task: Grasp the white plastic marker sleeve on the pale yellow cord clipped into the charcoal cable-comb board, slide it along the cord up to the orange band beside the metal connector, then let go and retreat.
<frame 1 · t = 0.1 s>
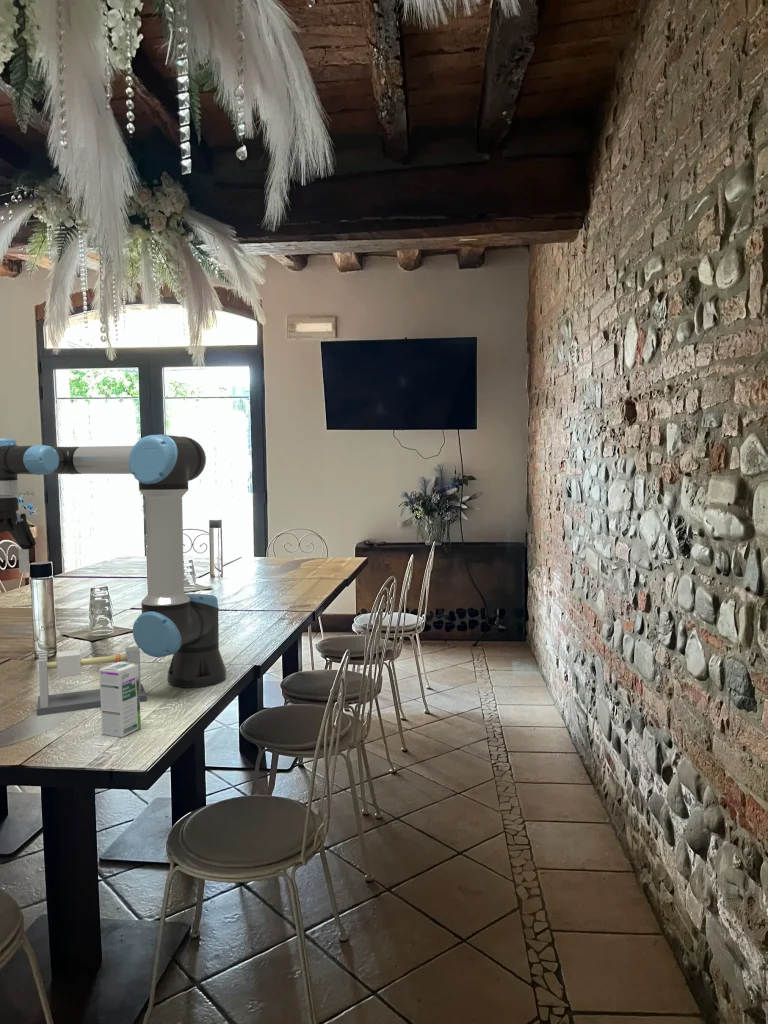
hand: (5, 576, 189), 28 cm above the table, fingers open, 13 cm apart
syrup box: (121, 732, 153), on the table
marker sleeve: (68, 663, 170), point 10 cm above the table, slide at 0.0 cm
cable comb board: (92, 701, 172), on the table
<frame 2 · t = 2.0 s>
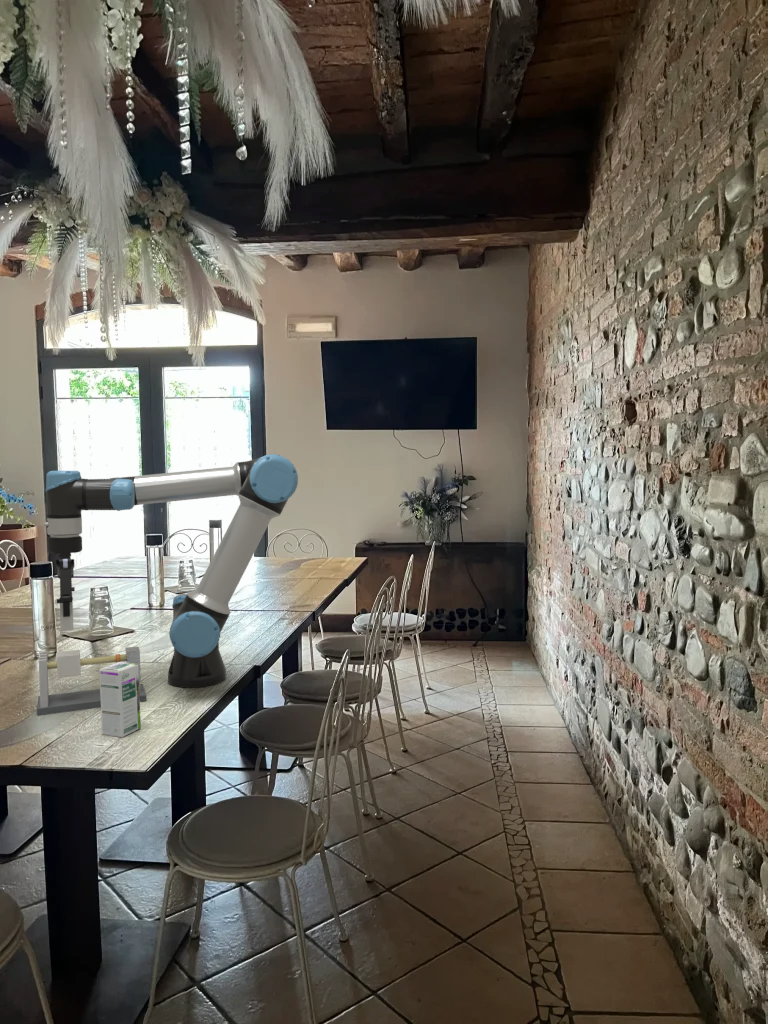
hand: (66, 624, 169), 20 cm above the table, fingers open, 13 cm apart
nothing on the table moved.
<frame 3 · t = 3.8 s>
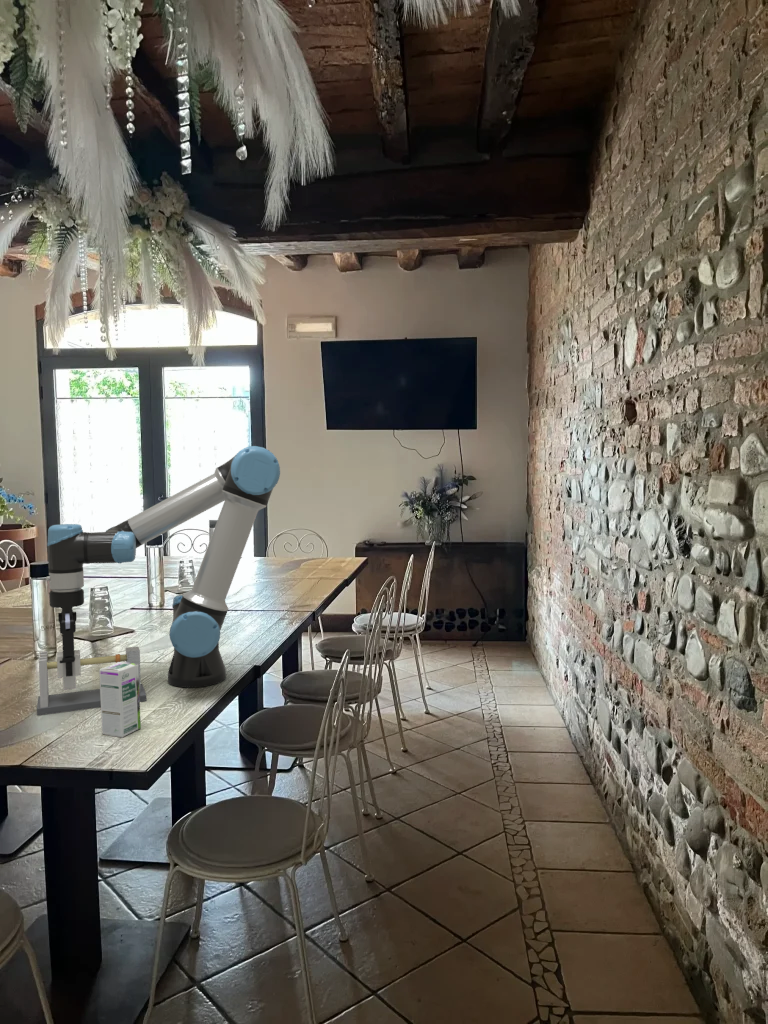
hand: (69, 685, 170), 5 cm above the table, fingers closed on marker sleeve, 5 cm apart
marker sleeve: (68, 663, 170), point 10 cm above the table, slide at 0.0 cm, touching gripper
everything else where it was.
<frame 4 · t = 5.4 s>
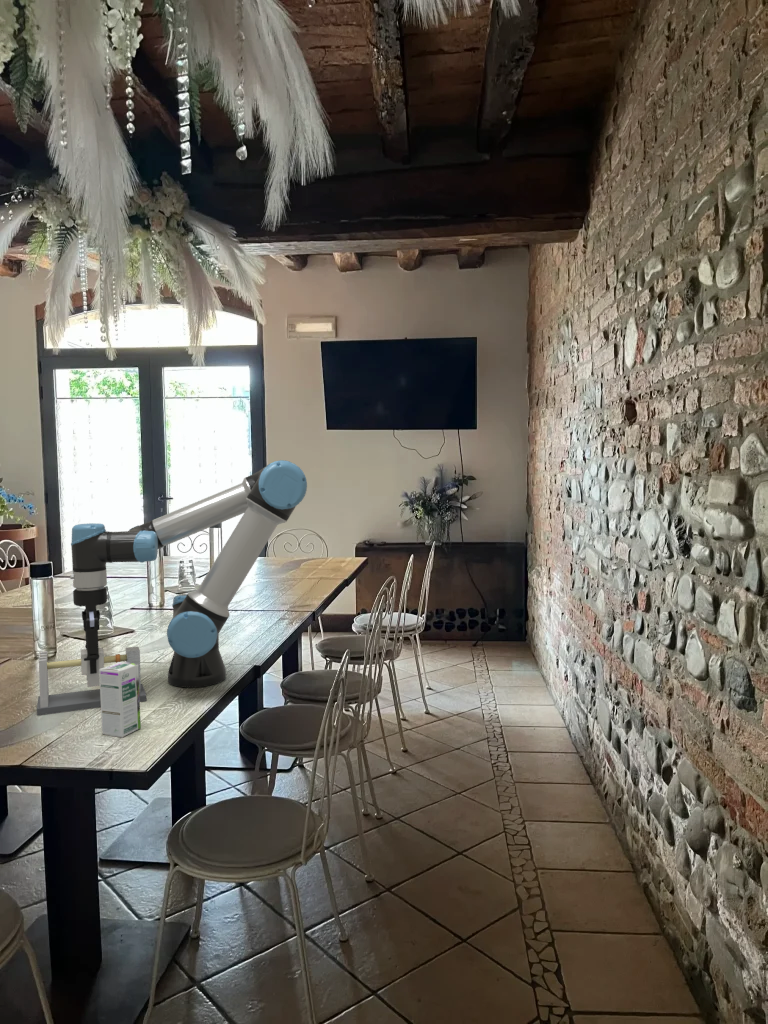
hand: (93, 682, 172), 5 cm above the table, fingers closed on marker sleeve, 5 cm apart
marker sleeve: (92, 661, 172), point 10 cm above the table, slide at 5.2 cm, touching gripper
everything else where it was.
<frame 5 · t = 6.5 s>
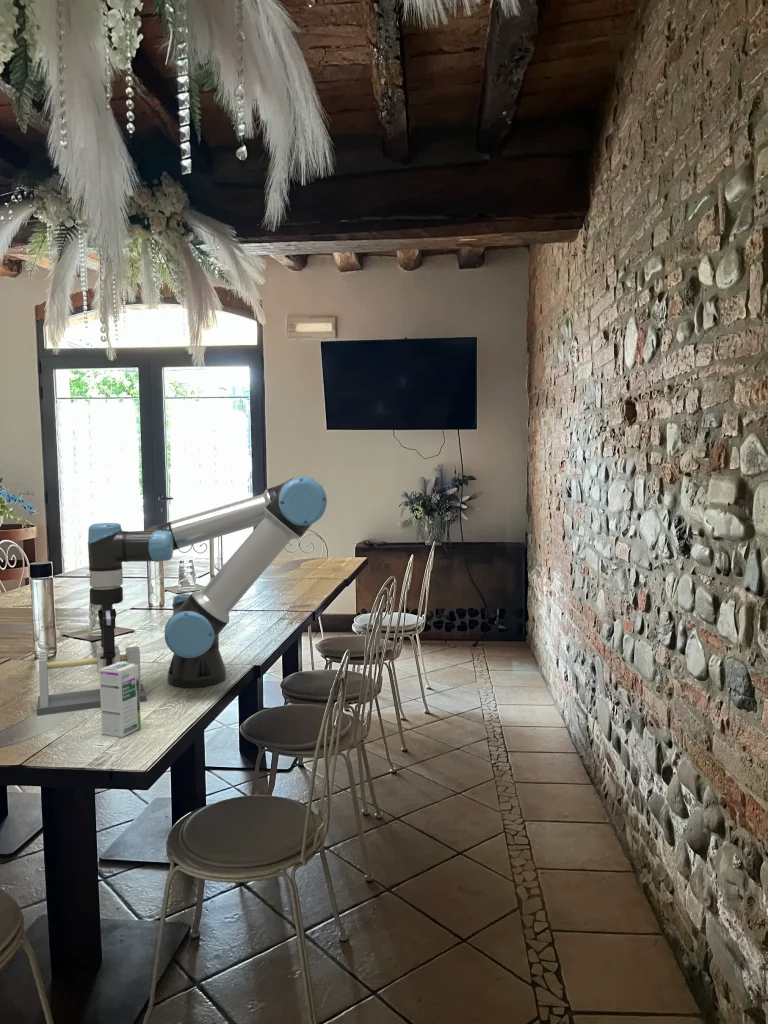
hand: (109, 680, 174), 5 cm above the table, fingers closed on marker sleeve, 5 cm apart
marker sleeve: (108, 659, 173), point 10 cm above the table, slide at 8.8 cm, touching gripper
everything else where it was.
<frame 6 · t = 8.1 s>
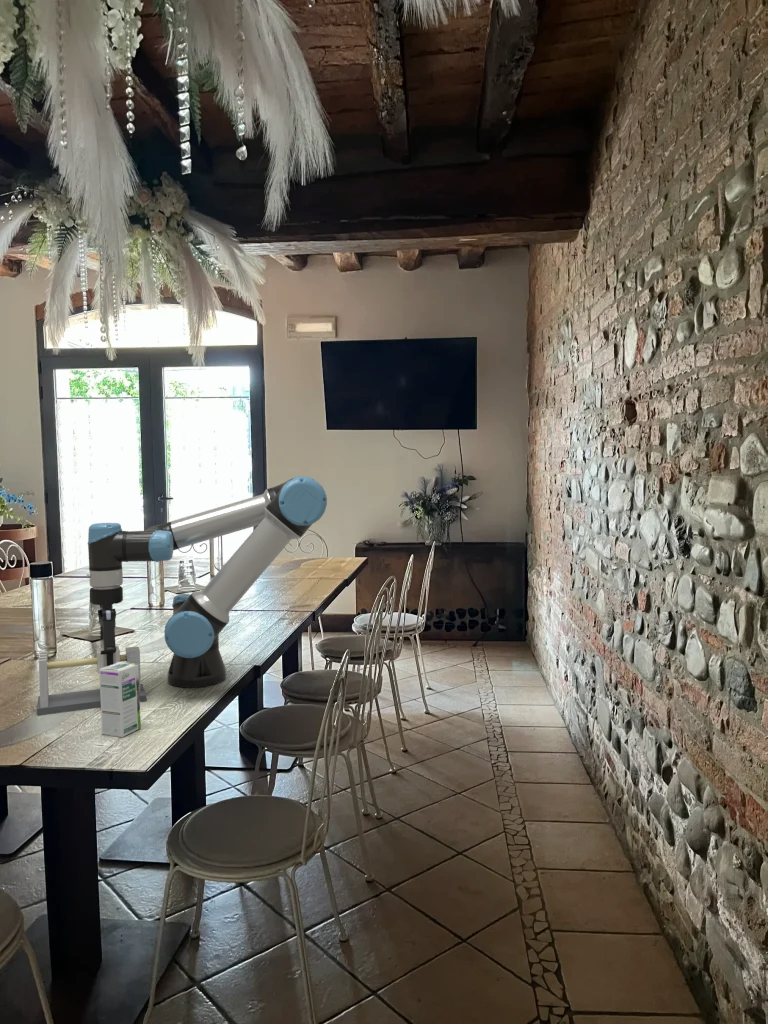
hand: (108, 672, 174), 7 cm above the table, fingers open, 13 cm apart
marker sleeve: (108, 659, 173), point 10 cm above the table, slide at 8.8 cm
everything else where it was.
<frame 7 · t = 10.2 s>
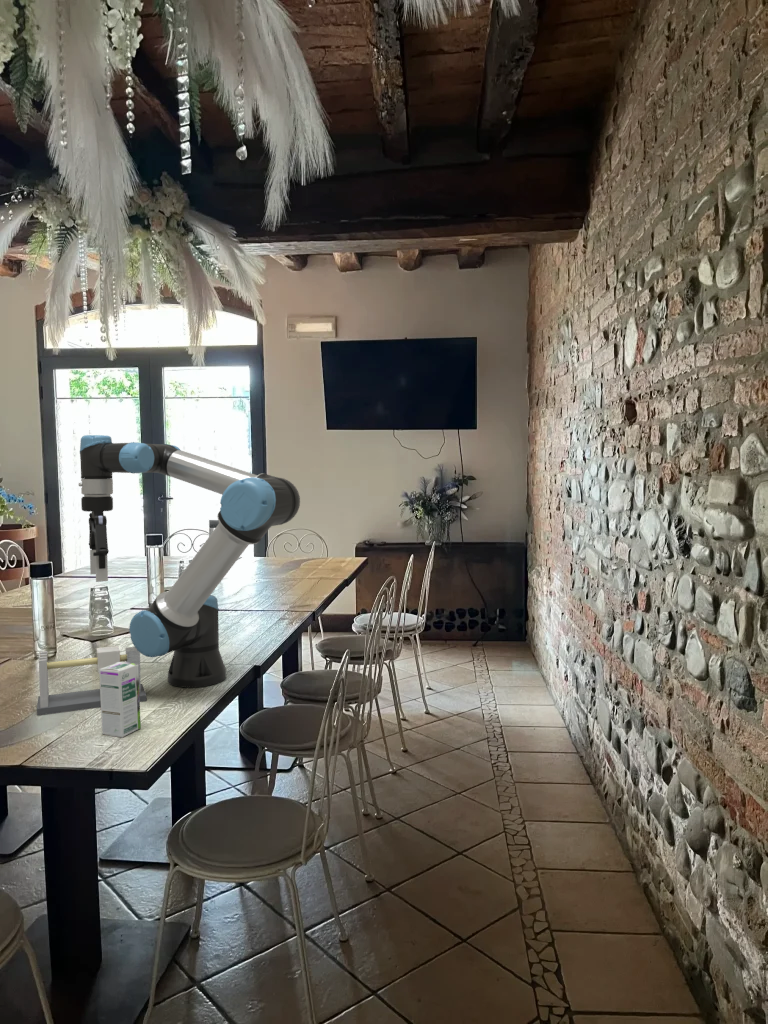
hand: (98, 577, 184), 28 cm above the table, fingers open, 13 cm apart
nothing on the table moved.
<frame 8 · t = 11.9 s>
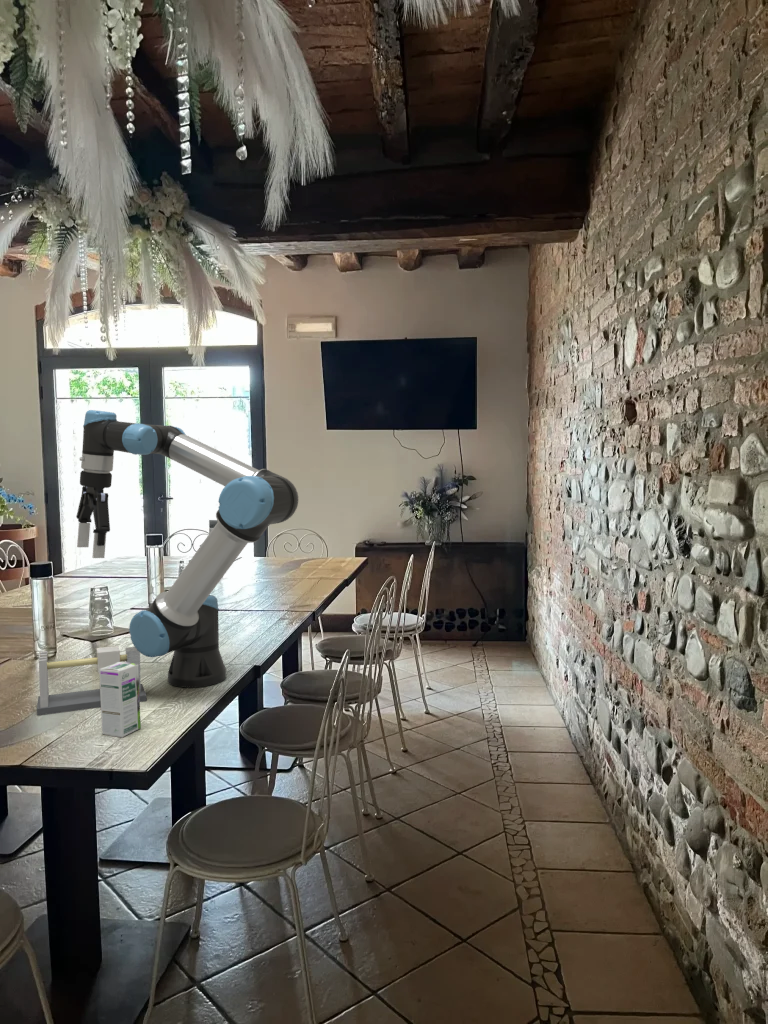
hand: (90, 552, 184), 35 cm above the table, fingers open, 13 cm apart
nothing on the table moved.
at the end: marker sleeve slide at 8.8 cm; the gripper is holding nothing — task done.
